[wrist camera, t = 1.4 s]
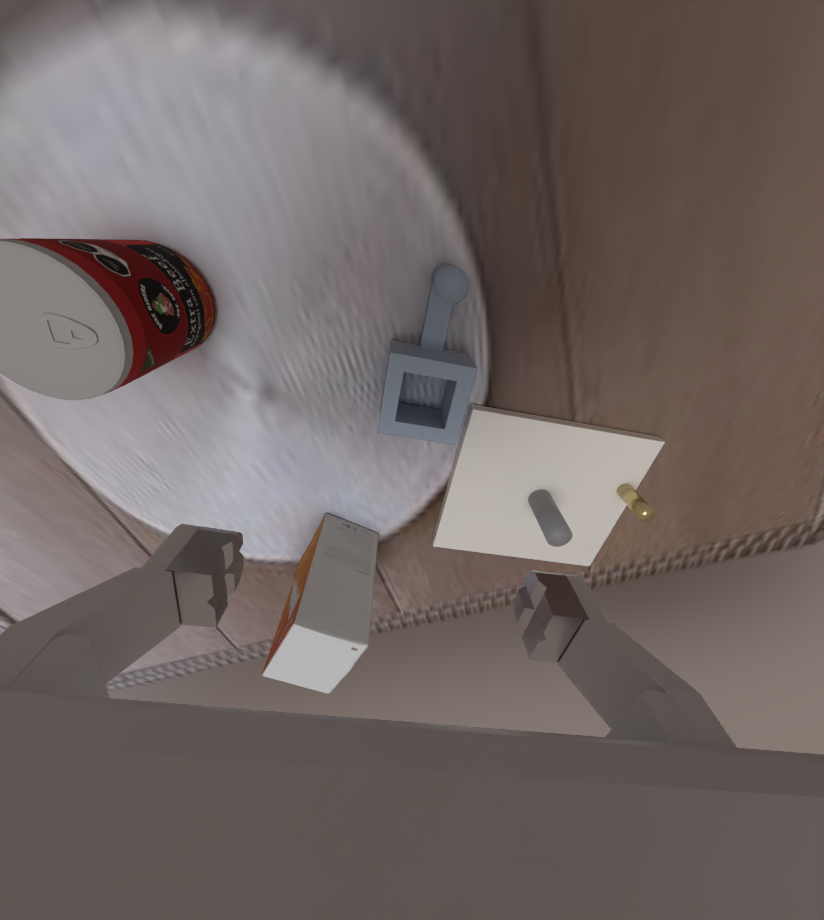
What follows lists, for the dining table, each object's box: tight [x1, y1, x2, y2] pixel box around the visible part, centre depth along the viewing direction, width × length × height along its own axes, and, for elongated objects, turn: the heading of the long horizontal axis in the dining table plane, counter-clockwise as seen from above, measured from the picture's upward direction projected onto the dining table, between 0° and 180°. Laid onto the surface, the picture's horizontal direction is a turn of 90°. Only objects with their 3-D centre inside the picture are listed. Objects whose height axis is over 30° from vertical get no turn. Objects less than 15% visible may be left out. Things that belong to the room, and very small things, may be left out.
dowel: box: [617, 483, 655, 522], centre depth 34 cm, size 1×1×4 cm
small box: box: [262, 514, 379, 694], centre depth 35 cm, size 8×6×13 cm
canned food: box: [0, 238, 215, 400], centre depth 23 cm, size 8×8×11 cm
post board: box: [432, 404, 665, 566], centre depth 34 cm, size 16×18×7 cm
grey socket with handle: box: [378, 264, 477, 445], centre depth 28 cm, size 12×6×5 cm, turn 169°
